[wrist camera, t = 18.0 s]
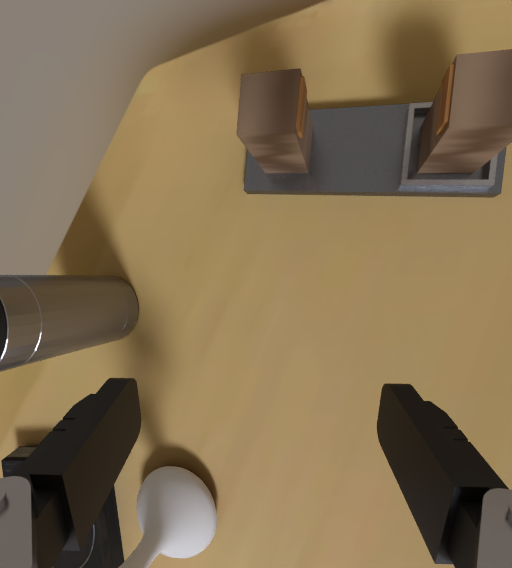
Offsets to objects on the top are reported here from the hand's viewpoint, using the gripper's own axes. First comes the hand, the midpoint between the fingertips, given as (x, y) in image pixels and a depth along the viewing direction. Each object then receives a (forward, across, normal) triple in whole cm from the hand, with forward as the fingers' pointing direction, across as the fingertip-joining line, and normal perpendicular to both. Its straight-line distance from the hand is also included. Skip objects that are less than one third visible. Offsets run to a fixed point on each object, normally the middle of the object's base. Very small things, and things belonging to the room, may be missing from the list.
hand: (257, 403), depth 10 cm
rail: (+29, -11, -11) cm, 32 cm away
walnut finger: (+25, -18, -11) cm, 33 cm away
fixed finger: (+29, -3, -11) cm, 32 cm away
